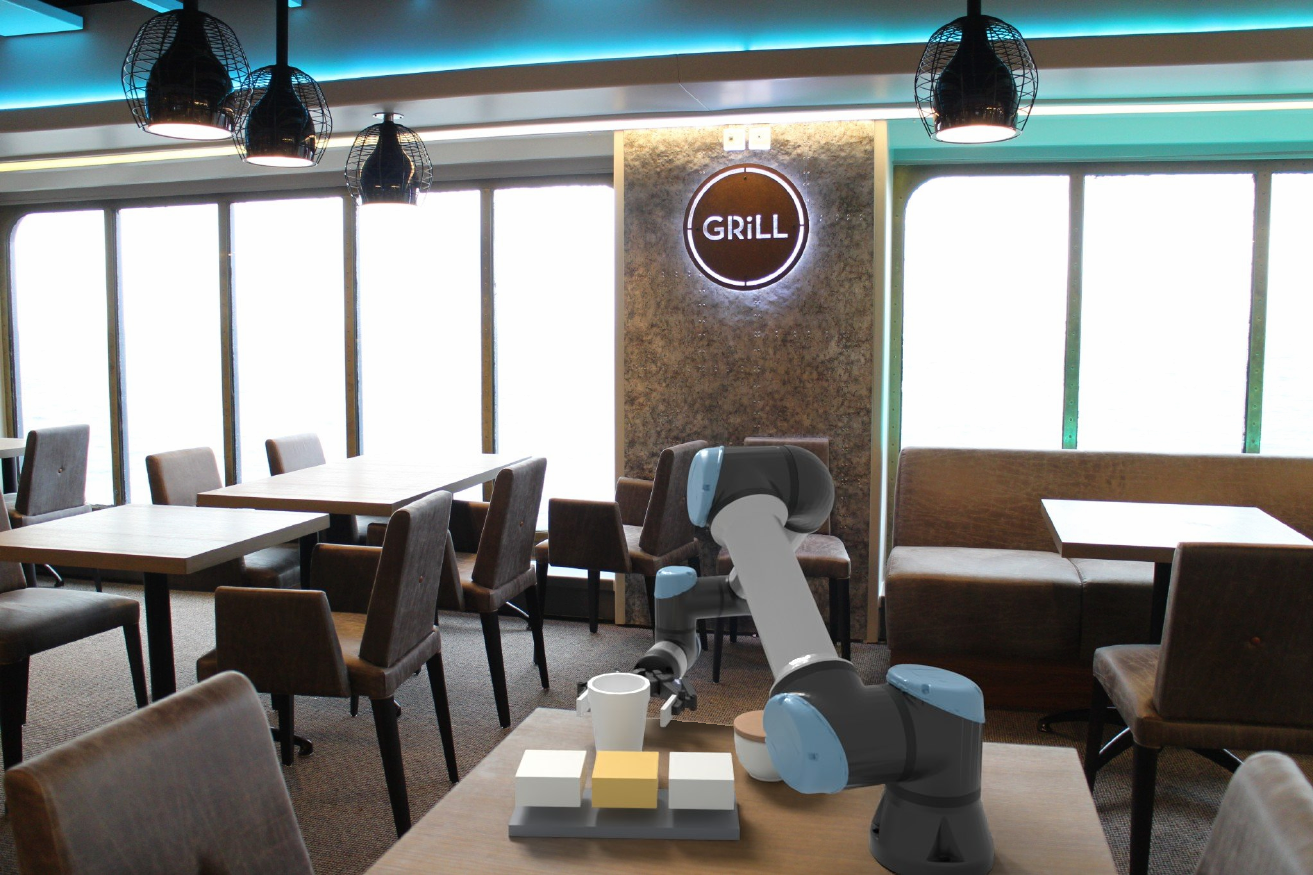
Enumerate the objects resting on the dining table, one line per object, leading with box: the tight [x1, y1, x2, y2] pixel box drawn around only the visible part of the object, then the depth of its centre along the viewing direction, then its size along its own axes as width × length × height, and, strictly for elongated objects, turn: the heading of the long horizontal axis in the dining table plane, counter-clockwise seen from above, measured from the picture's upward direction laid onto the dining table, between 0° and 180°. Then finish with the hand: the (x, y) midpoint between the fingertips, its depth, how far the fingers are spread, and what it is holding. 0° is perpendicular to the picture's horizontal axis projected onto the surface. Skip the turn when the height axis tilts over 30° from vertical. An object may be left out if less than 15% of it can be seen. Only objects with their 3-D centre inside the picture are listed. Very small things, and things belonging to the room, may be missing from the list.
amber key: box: [591, 751, 660, 808], centre depth 132 cm, size 8×8×4 cm
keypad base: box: [508, 787, 741, 841], centre depth 132 cm, size 30×11×2 cm, turn 88°
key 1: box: [514, 749, 588, 807], centre depth 132 cm, size 8×8×4 cm
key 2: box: [668, 751, 735, 810], centre depth 132 cm, size 8×8×4 cm
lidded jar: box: [733, 709, 784, 783], centre depth 146 cm, size 11×11×9 cm
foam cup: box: [588, 672, 651, 755], centre depth 148 cm, size 10×9×13 cm
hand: (620, 713), depth 150 cm, fingers open, 13 cm apart
